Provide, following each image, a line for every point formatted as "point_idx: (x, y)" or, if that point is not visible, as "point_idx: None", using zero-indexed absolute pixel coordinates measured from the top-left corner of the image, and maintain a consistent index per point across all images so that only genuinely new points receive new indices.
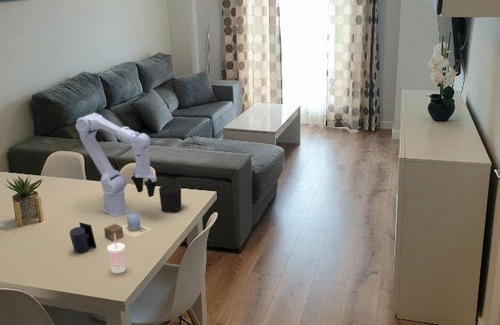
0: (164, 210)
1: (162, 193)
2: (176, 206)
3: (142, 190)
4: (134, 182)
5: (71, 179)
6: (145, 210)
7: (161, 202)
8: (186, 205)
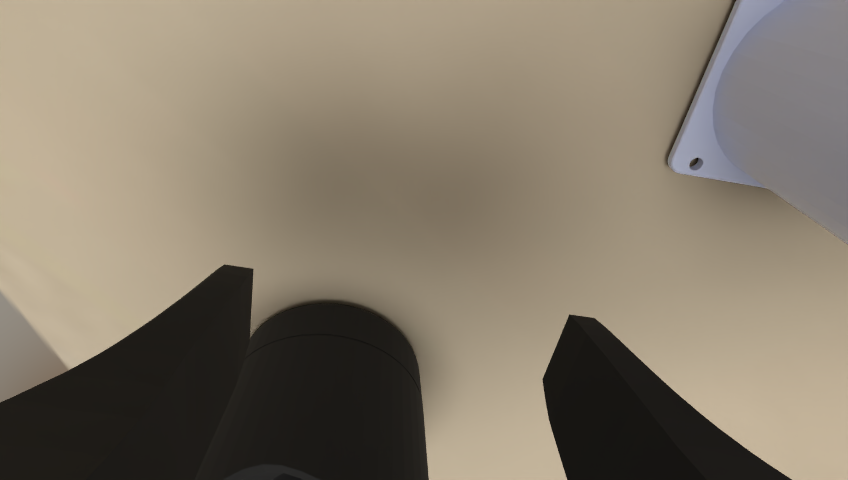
0: (324, 312)
1: (291, 465)
2: None
3: (548, 388)
4: (747, 468)
5: None
6: (529, 253)
7: (353, 369)
8: None
